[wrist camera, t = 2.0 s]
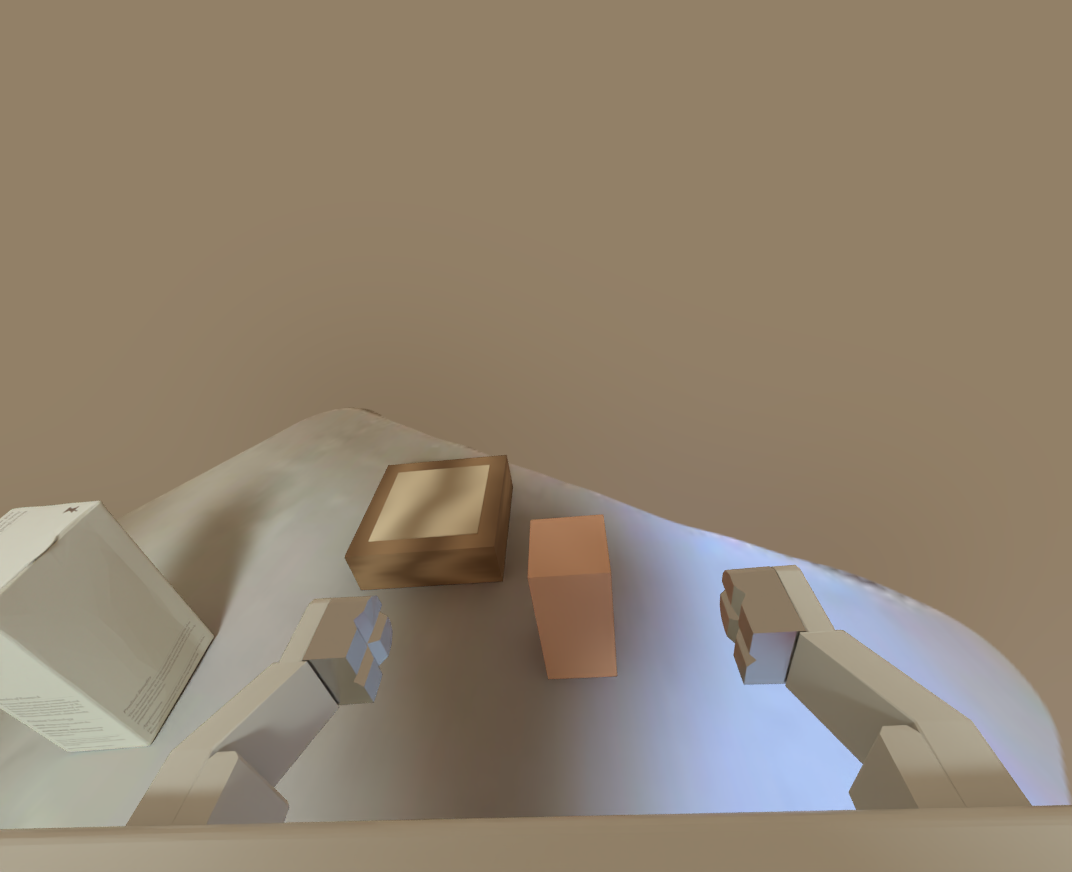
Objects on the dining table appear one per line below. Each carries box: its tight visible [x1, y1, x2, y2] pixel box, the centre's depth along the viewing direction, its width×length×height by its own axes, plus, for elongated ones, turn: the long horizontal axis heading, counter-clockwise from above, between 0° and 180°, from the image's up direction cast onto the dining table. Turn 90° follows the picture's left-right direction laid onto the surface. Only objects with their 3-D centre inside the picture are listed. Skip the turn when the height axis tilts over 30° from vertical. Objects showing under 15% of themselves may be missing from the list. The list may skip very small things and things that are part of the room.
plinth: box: [345, 455, 513, 590], centre depth 43 cm, size 12×12×4 cm
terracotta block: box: [528, 515, 617, 679], centre depth 30 cm, size 4×4×10 cm
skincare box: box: [0, 500, 214, 752], centre depth 30 cm, size 8×6×15 cm
